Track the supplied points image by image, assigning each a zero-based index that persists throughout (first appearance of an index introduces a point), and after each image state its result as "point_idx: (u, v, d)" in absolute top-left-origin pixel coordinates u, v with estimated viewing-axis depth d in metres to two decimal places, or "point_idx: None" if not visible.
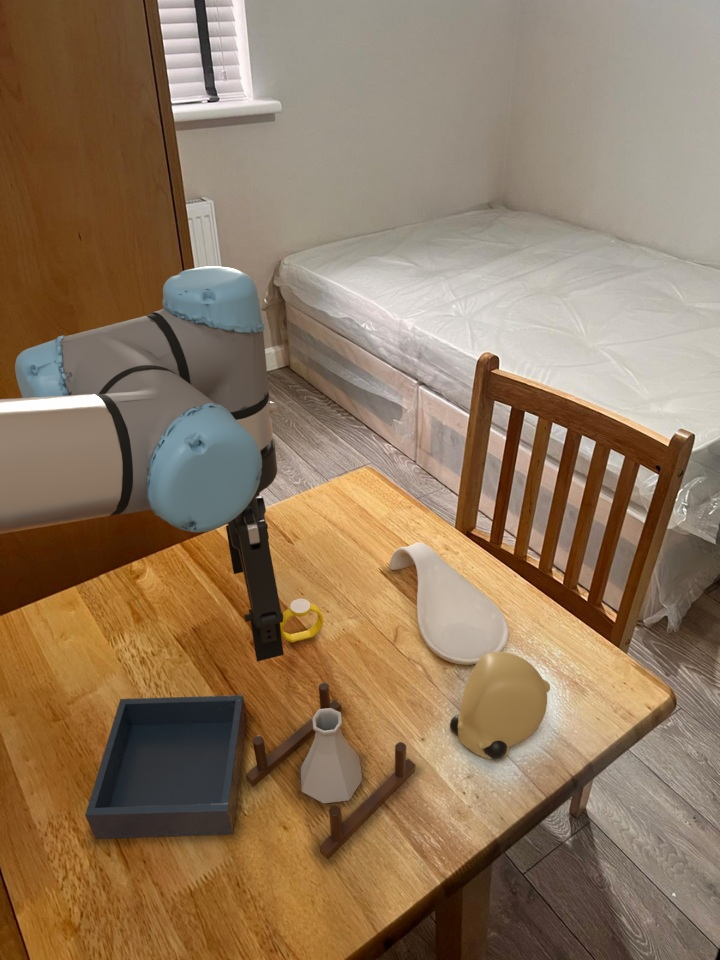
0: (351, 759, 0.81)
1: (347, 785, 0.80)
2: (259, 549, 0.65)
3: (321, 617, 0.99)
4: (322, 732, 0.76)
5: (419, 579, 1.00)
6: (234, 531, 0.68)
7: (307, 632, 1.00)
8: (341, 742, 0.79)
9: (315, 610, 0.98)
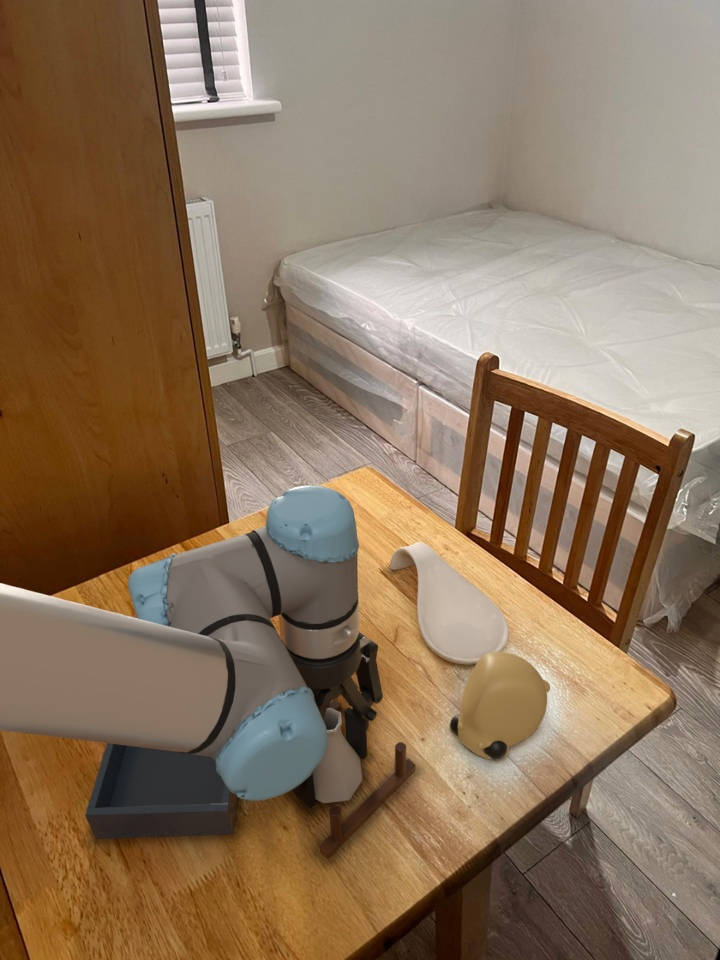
0: (351, 759, 0.81)
1: (347, 785, 0.80)
2: None
3: None
4: None
5: (419, 579, 1.00)
6: None
7: None
8: (341, 742, 0.79)
9: None
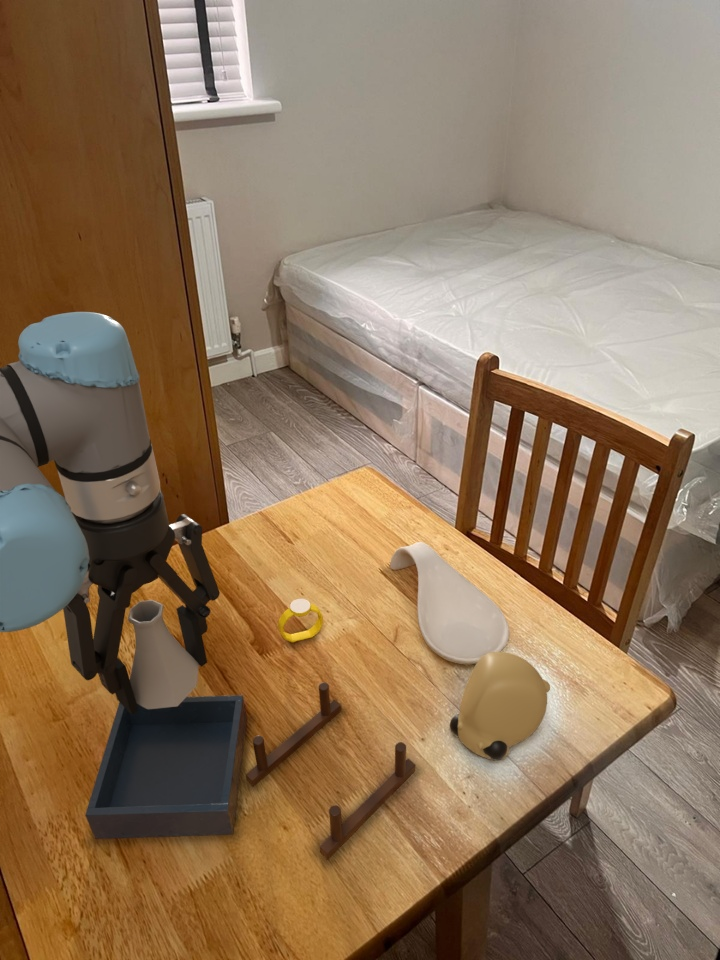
0: (181, 661, 0.72)
1: (174, 689, 0.71)
2: (71, 613, 0.62)
3: (321, 617, 0.99)
4: (137, 623, 0.67)
5: (419, 579, 1.00)
6: None
7: (307, 632, 1.00)
8: (165, 639, 0.70)
9: (315, 610, 0.98)
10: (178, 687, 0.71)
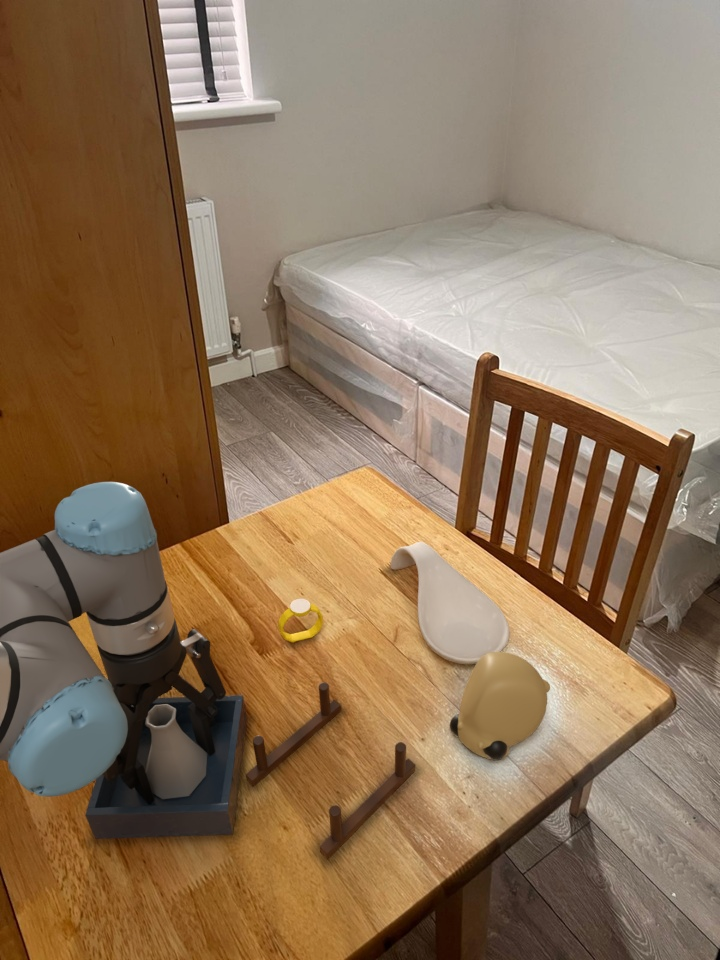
0: (192, 755, 0.81)
1: (186, 781, 0.80)
2: None
3: (321, 617, 0.99)
4: (153, 728, 0.76)
5: (420, 579, 1.00)
6: None
7: (307, 632, 1.00)
8: (178, 738, 0.79)
9: (315, 610, 0.98)
10: (189, 779, 0.80)
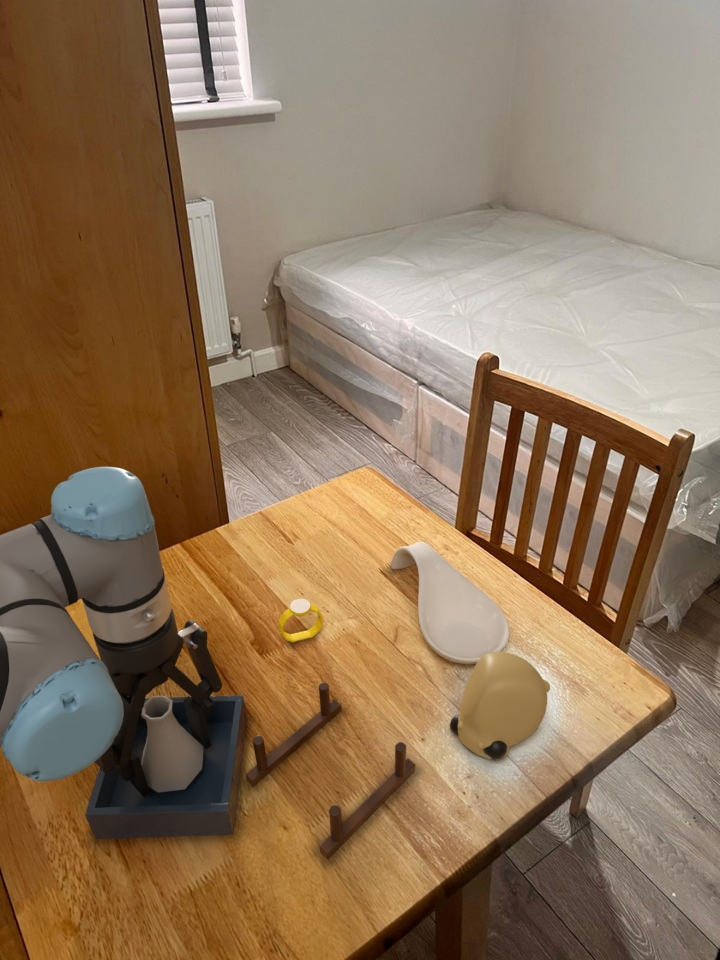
0: (188, 748, 0.80)
1: (182, 774, 0.79)
2: None
3: (321, 617, 0.99)
4: (149, 719, 0.75)
5: (420, 578, 1.00)
6: None
7: (307, 632, 1.00)
8: (174, 730, 0.78)
9: (315, 610, 0.98)
10: (185, 772, 0.79)
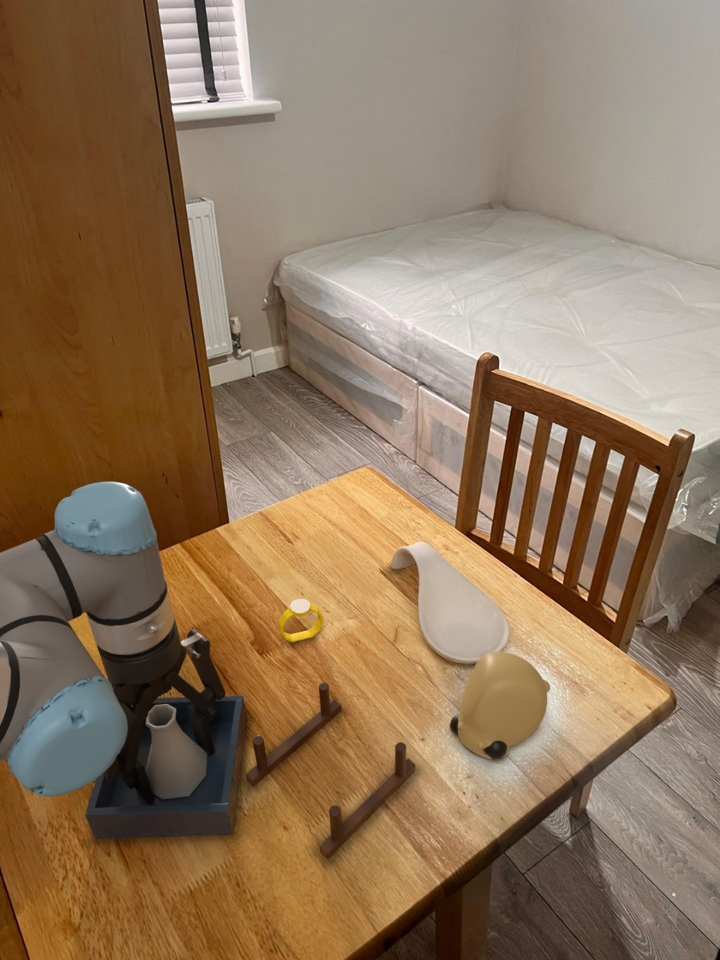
0: (192, 755, 0.81)
1: (186, 781, 0.80)
2: None
3: (321, 617, 0.99)
4: (153, 728, 0.76)
5: (420, 578, 1.00)
6: None
7: (307, 632, 1.00)
8: (178, 738, 0.79)
9: (315, 610, 0.98)
10: (189, 779, 0.80)
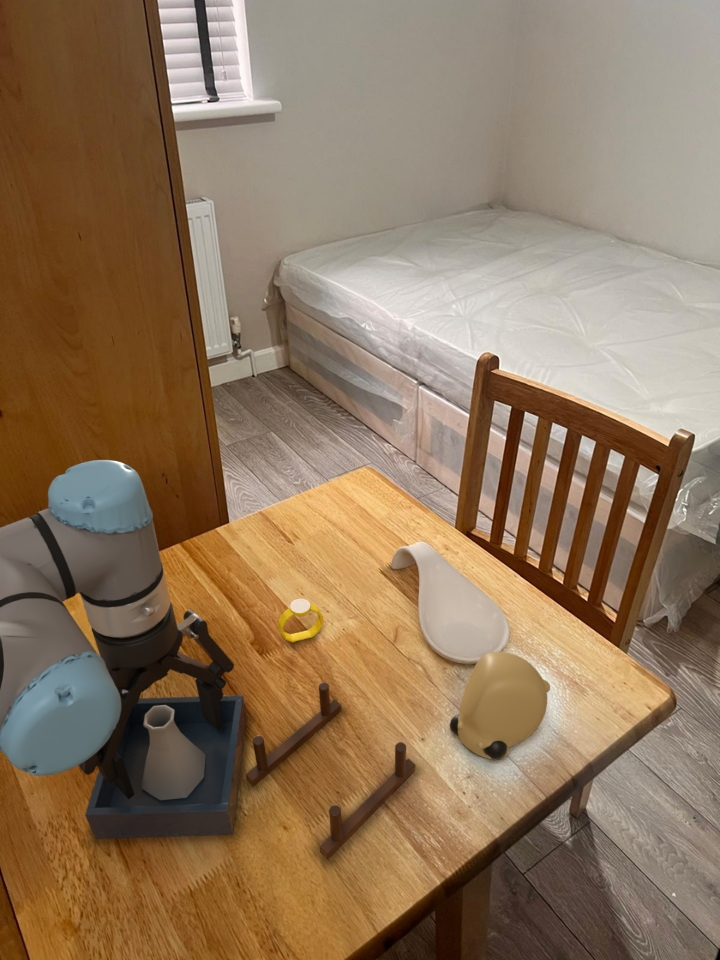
0: (190, 756, 0.81)
1: (184, 783, 0.80)
2: None
3: (321, 617, 0.99)
4: (151, 729, 0.76)
5: (420, 578, 1.00)
6: None
7: (307, 632, 1.00)
8: (176, 739, 0.79)
9: (315, 610, 0.98)
10: (187, 780, 0.80)
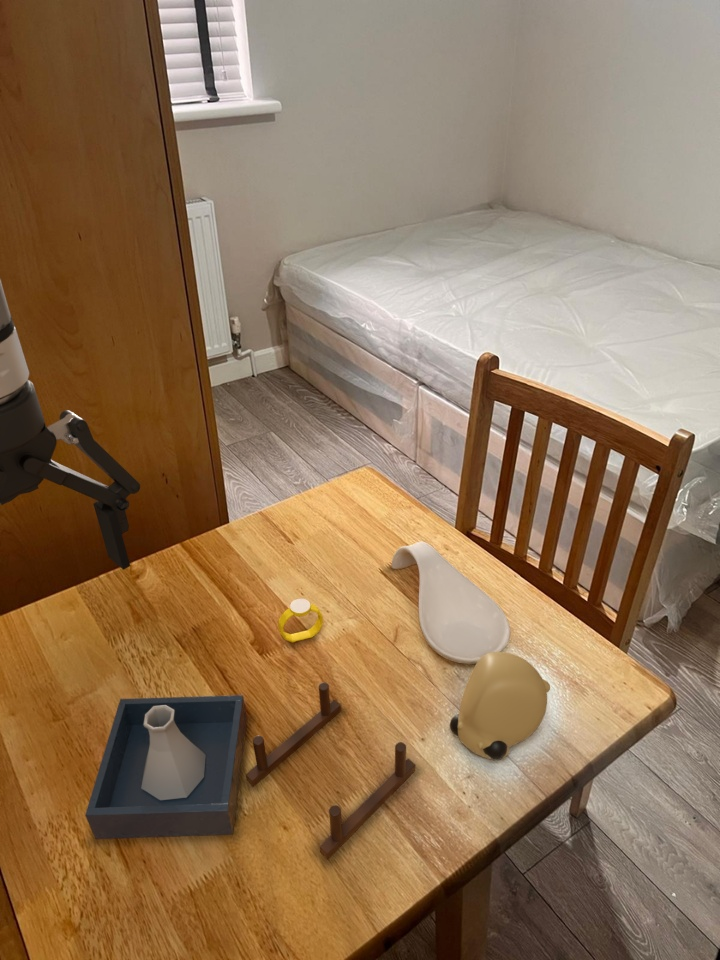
0: (190, 756, 0.81)
1: (184, 783, 0.80)
2: None
3: (321, 617, 0.99)
4: (151, 729, 0.76)
5: (421, 578, 1.00)
6: None
7: (307, 632, 1.00)
8: (176, 739, 0.79)
9: (315, 610, 0.98)
10: (187, 780, 0.80)
